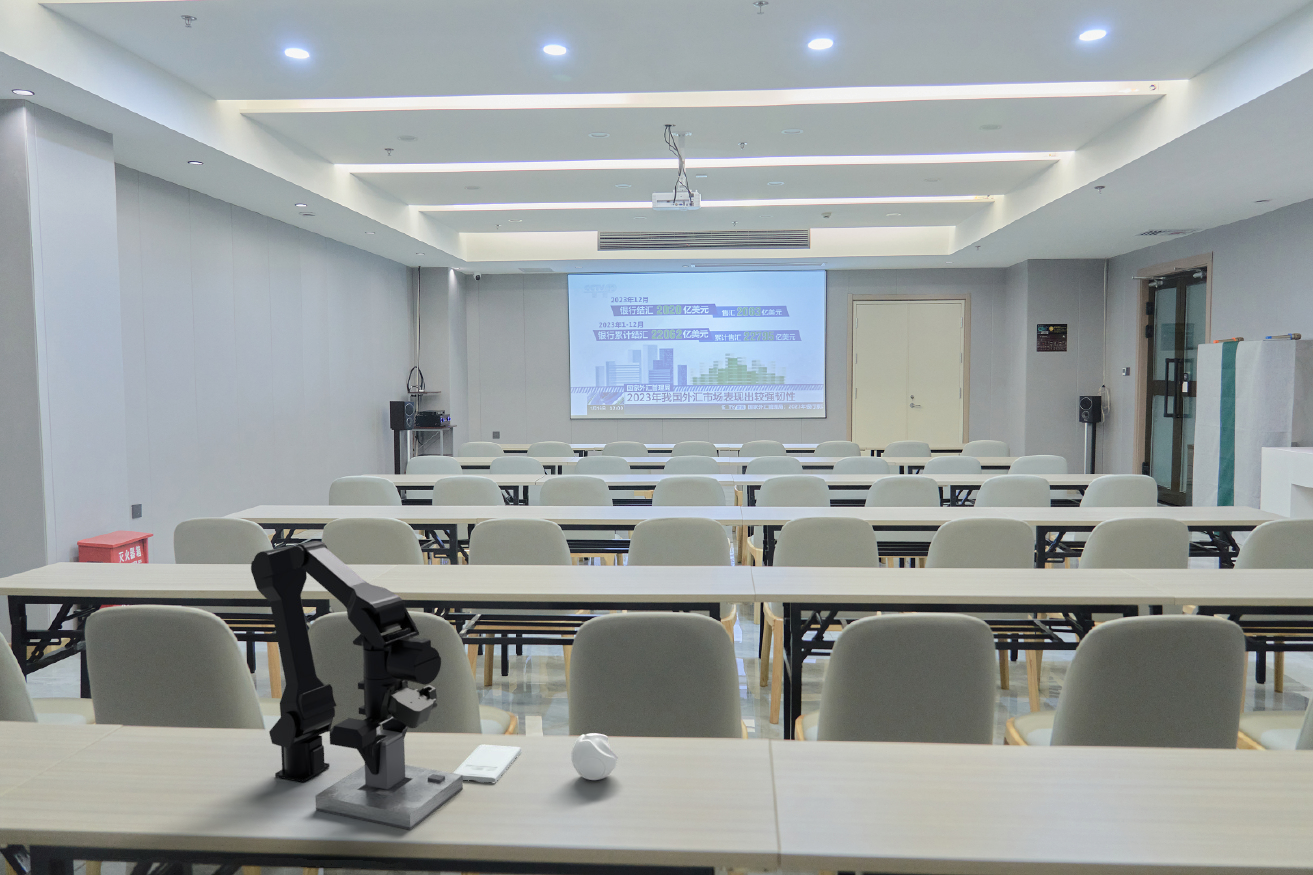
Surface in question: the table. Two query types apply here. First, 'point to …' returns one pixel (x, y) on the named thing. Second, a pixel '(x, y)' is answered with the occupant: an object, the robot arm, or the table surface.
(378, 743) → the robot arm
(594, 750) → the motion sensor
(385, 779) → the plug
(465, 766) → the external hard drive
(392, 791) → the socket
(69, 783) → the table surface
